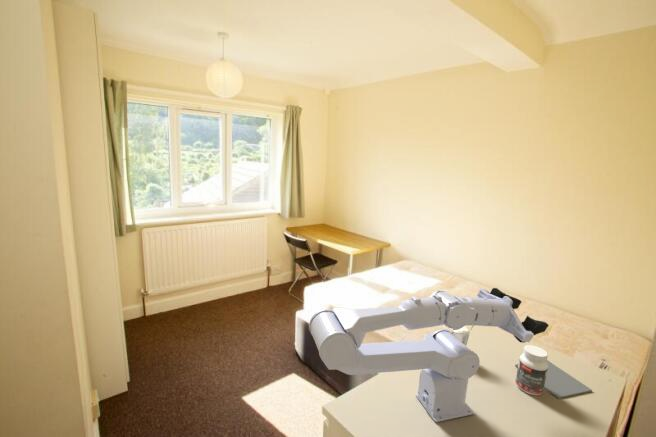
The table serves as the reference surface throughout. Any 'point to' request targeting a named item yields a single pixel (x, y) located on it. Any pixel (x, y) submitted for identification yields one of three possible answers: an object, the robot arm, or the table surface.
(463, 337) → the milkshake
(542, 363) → the pill bottle
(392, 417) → the table surface
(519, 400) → the table surface
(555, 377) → the mat
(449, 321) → the robot arm
